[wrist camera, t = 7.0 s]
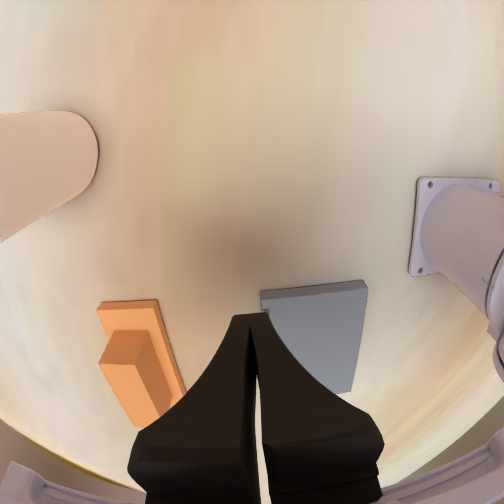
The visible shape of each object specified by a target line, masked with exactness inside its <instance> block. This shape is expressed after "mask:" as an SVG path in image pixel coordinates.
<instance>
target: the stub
mask: <svg viewBox="0 0 504 504" xmlns="http://www.w3.org/2000/svg"><path fill="white" fill-rule="evenodd" d="M96 311H97V314H98V316H99V319H100V321H101V324H102V326H103V329H104V331H105V333H106V336H107V338H108V341H109V342H108V344H107V346H106V349H105V351H104V353H103V355H102V357H101V359H100V361H99V363H98V364H99V366H100V368H101V370H102V372H103V374H104V376H105V378H106V379H107V381H108V383H109V385H110V387H111V389H112V390H113V392H114V394H115V396H116V397H117V399H118V401H119V402H120V404H121V406H122V407H123V409H124V411H125V412H126V414H127V416H128V417H129V419H130V420H131V422H132V424H133V425H134V427H147V426H148V425H150V424H151V423H153V422H154V421H155V420H157V419H158V418H160V417H161V416H162V415H163V414H165V413H166V412H167V411H168V410H169V409H170V407H172V406H173V405H175V404H176V403H177V402H178V401H179V400H180V399H181V398H182V397H183V396H184V395H185V394H186V391H185V388H184V385H183V382H182V380H181V377H180V374H179V371H178V368H177V365H176V362H175V359H174V356H173V353H172V350H171V347H170V344H169V340H168V337H167V334H166V331H165V327H164V324H163V321H162V317H161V314H160V310H159V307H158V303H157V300H149V301H130V302H108V303H101V304H100V305H99V307H98V308H97V310H96Z"/></svg>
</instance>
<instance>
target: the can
mask: <svg viewBox="0 0 504 504" xmlns="http://www.w3.org/2000/svg"><path fill="white" fill-rule="evenodd" d="M97 160H98V147H97V141H96V137H95V135H94V132H93V130H92V128H91V127H90V125H89V124H88V123H87V121H86V120H85V119H84V118H82V117H81V116H79V115H78V114H76V113H73V112H68V111H40V112H22V113H10V114H0V244H1V243H2V242H3V241H5V240H6V239H8V238H9V237H11V236H12V235H14V234H15V233H17V232H18V231H20V230H22V229H23V228H25V227H26V226H28V225H29V224H31V223H33V222H34V221H36V220H37V219H39V218H41V217H42V216H44V215H45V214H47V213H49V212H50V211H52V210H54V209H56V208H57V207H59V206H61V205H62V204H64V203H66V202H67V201H69V200H71V199H73V198H74V197H76V196H77V195H79V194H80V193H82V192H83V191H84V190H85V189H86V188H87V187H88V185H89V184H90V182H91V181H92V179H93V176H94V173H95V170H96V166H97Z"/></svg>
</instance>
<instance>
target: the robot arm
mask: <svg viewBox="0 0 504 504" xmlns="http://www.w3.org/2000/svg"><path fill="white" fill-rule="evenodd" d="M429 182H430V186H429V187H428V183H429ZM419 268H421V269H420V270H419V271H418V269H419ZM440 272H441V273H442V274H443V275H444V276H445V277H446V278H447V279H448V280H449V281H450V282H451V283H453V284H454V285H455V286H456V287H457V288H458V289H459V290H460V291H461V292H462V293H463V294H464V295H465V296H466V297H467V298H468V299H469V300H470V301H471V302H472V303H473V304H474V305H475V306H476V307H477V308H478V309H479V310H480V311H481V312H482V313H483V314H484V315H485V316H486V317H487V318H488V319H489V327H488V330H487V332H488V333H489V334H490V335H491V336H492V338H493V339H494V340H495V341H496V344H495V346H494V350H493V362H494V365H495V369H496V371H497V373H498V375H499V376H500V378H501V379H502V381H503V382H504V195H503V194H501V193H500V182H499V181H497V180H491V179H472V178H441V177H422V178H420V179H419V181H418V184H417V201H416V213H415V224H414V233H413V242H412V249H411V257H410V264H409V274H410V275H411V276H412V277H415V276H422V275H428V274H434V273H440ZM256 377H257V378H258V383H259V389H260V403H261V427H262V445H263V451H264V457H265V463H266V469H267V474H268V486H269V495H270V499H271V504H494V503H496V502H497V501H499V500H500V499H502V498H503V497H504V427H503V428H501V429H500V430H498V431H497V432H496V433H495V434H494V435H493V436H492V437H491V438H490V440H489V441H488V443H487V444H486V445H484V446H482V447H480V448H478V449H476V450H474V451H472V452H471V453H469V454H467V455H465V456H463V457H461V458H458V459H456V460H454V461H452V462H450V463H448V464H445V465H443V466H441V467H439V468H436V469H434V470H432V471H429V472H427V473H424V474H422V475H419V476H417V477H414V478H411V479H408V480H406V481H403V482H400V483H397V484H393V485H390V486H387V487H384V488H380V484H379V481H378V478H377V476H378V474H379V471H378V468H377V464H376V462H377V460H378V458H379V456H380V455H381V453H382V451H383V448H384V441H383V438H382V435H381V433H380V431H379V429H378V427H377V426H376V424H375V422H374V421H373V419H372V418H371V416H370V415H369V414H368V413H366V412H364V411H362V410H360V409H358V408H356V407H354V406H353V405H351V404H349V403H348V402H346V401H345V400H343V399H342V398H340V397H338V396H337V395H336V394H334V393H333V392H332V391H330V390H329V389H328V388H326V387H325V386H324V385H323V384H321V383H320V382H319V381H318V380H317V379H315V378H314V377H313V376H312V375H311V374H310V373H309V372H308V371H307V370H306V369H305V368H304V367H303V366H302V365H301V364H300V363H299V362H298V360H297V359H296V358H295V357H294V356H293V354H292V353H291V352H290V351H289V349H288V348H287V347H286V345H285V344H284V342H283V341H282V339H281V338H280V336H279V335H278V333H277V332H276V330H275V328H274V326H273V324H272V322H271V320H270V317H269V314H268V313H266V312H261V313H251V314H241V315H234V316H233V317H232V319H231V322H230V325H229V328H228V330H227V332H226V334H225V337H224V339H223V341H222V342H221V344H220V346H219V348H218V350H217V352H216V354H215V355H214V357H213V358H212V360H211V362H210V363H209V365H208V366H207V368H206V369H205V371H204V372H203V373H202V375H201V376H200V377H199V379H198V380H197V381H196V382H195V384H194V385H193V386H192V387H191V388H190V389H189V390H188V392H187V393H186V394H185V395H184V396H183V397H182V398H181V399H180V400H179V401H178V402H177V403H176V404H175V405H173V406H172V407H171V408H170V409H169V410H168V411H167V412H166V413H165V414H163V415H162V416H161V417H160V418H158V419H157V420H155V421H154V422H153V423H151V424H150V425H148V426H147V427H145V428H144V429H143V430H141V431H139V432H138V434H137V437H136V439H135V442H134V444H133V447H132V450H131V454H130V459H129V463H128V467H127V470H128V473H129V475H130V476H131V477H132V479H133V480H134V481H135V482H136V483H137V484H139V485H140V486H141V487H142V488H143V489H144V490H145V491H146V492H147V495H146V501H145V504H261V497H260V486H259V474H258V462H257V449H256V435H255V405H256ZM0 504H132V503H127V502H121V501H117V500H111V499H107V498H103V497H99V496H95V495H91V494H87V493H83V492H79V491H76V490H72V489H69V488H66V487H63V486H60V485H57V484H54V483H51V482H48V481H45V480H44V479H43V478H42V477H41V476H40V475H39V474H38V473H36V472H35V471H33V470H31V469H29V468H27V467H25V466H22V465H20V464H17V463H15V462H10V465H9V467H8V469H7V472H6V475H5V477H4V480H3V482H2V485H1V487H0Z"/></svg>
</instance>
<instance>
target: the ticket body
mask: <svg viewBox="0 0 504 504" xmlns="http://www.w3.org/2000/svg"><path fill="white" fill-rule="evenodd" d="M367 294H368V287H367V285H366V284H365V283H364V281H363V280H360V281H352V282H343V283H335V284H326V285H318V286H309V287H299V288H290V289H280V290H270V291H260V296H261V308H262V312H266V313H268V314H269V317H270V320H271V322H272V324H273V326H274V328H275V330H276V332H277V333H278V335H279V336H280V338H281V339H282V341H283V342H284V344H285V345H286V347H287V348H288V349H289V351H290V352H291V353H292V354H293V356H294V357H295V358H296V359H297V360H298V362H299V363H300V364H301V365H302V366H303V367H304V368H305V369H306V370H307V371H308V372H309V373H310V374H311V375H312V376H313V377H314V378H315V379H317V380H318V381H319V382H320V383H321V384H323V385H324V386H325V387H326V388H328V389H329V390H330V391H332V392H333V393H334V394H340V393H346V392H351V388H352V384H353V379H354V374H355V369H356V364H357V359H358V353H359V347H360V342H361V336H362V329H363V323H364V316H365V309H366V302H367Z"/></svg>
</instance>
